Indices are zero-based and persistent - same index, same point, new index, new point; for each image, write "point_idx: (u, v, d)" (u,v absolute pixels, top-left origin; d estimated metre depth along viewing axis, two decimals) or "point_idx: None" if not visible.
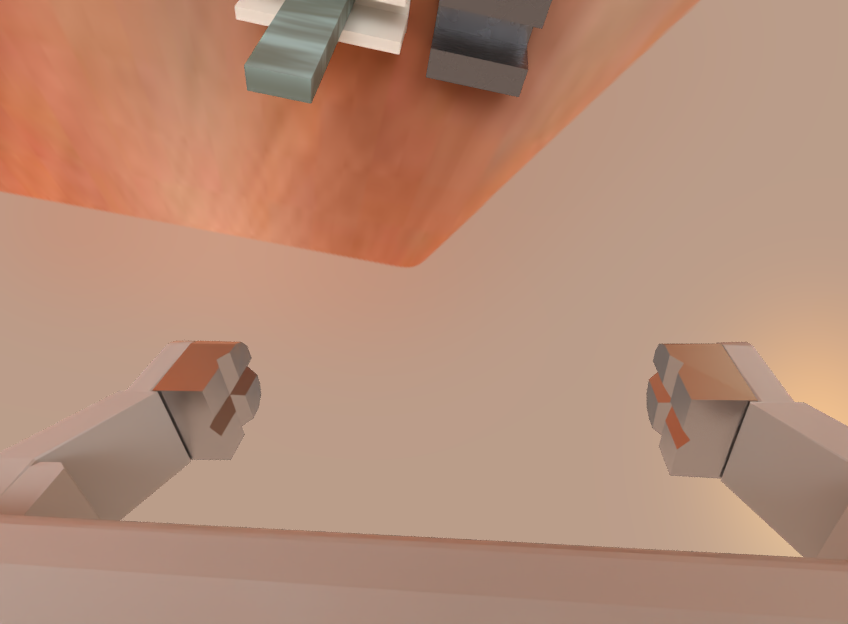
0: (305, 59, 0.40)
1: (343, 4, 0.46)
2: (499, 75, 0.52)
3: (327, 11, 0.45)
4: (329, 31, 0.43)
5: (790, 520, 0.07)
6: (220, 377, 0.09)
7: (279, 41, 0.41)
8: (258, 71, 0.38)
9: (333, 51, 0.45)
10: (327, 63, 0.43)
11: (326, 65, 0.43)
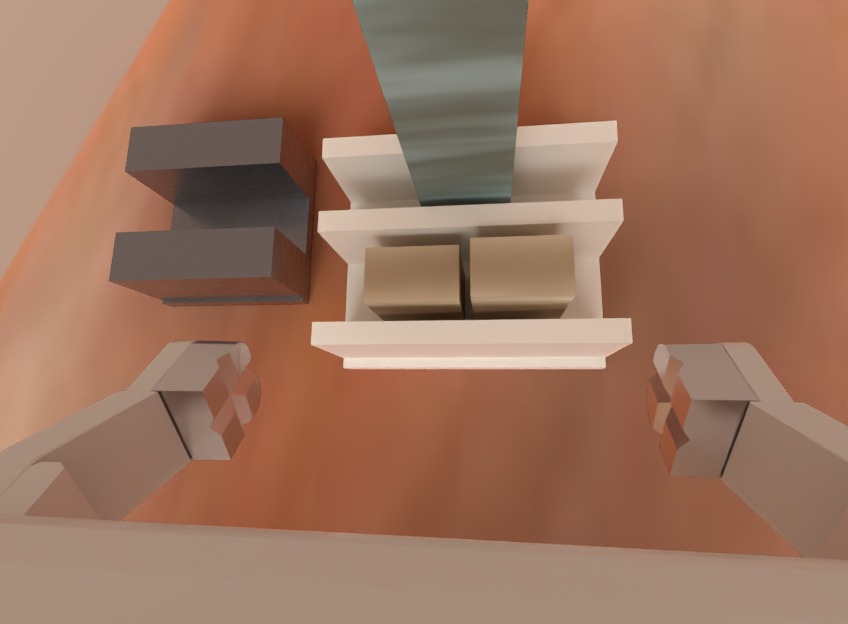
0: (398, 41, 0.16)
1: (417, 190, 0.26)
2: (167, 151, 0.31)
3: (433, 171, 0.24)
4: (401, 133, 0.21)
5: (790, 520, 0.07)
6: (220, 377, 0.09)
7: (480, 75, 0.18)
8: None
9: None
10: None
11: None
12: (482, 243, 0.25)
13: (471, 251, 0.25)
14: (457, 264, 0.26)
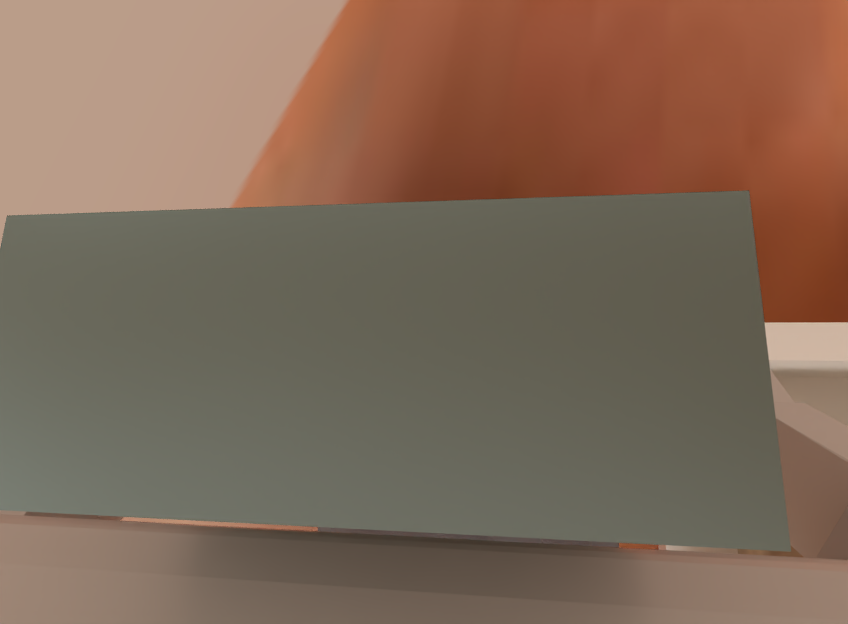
0: None
1: None
2: None
3: None
4: None
5: (790, 520, 0.07)
6: None
7: None
8: (585, 485, 0.03)
9: None
10: None
11: None
12: None
13: None
14: None
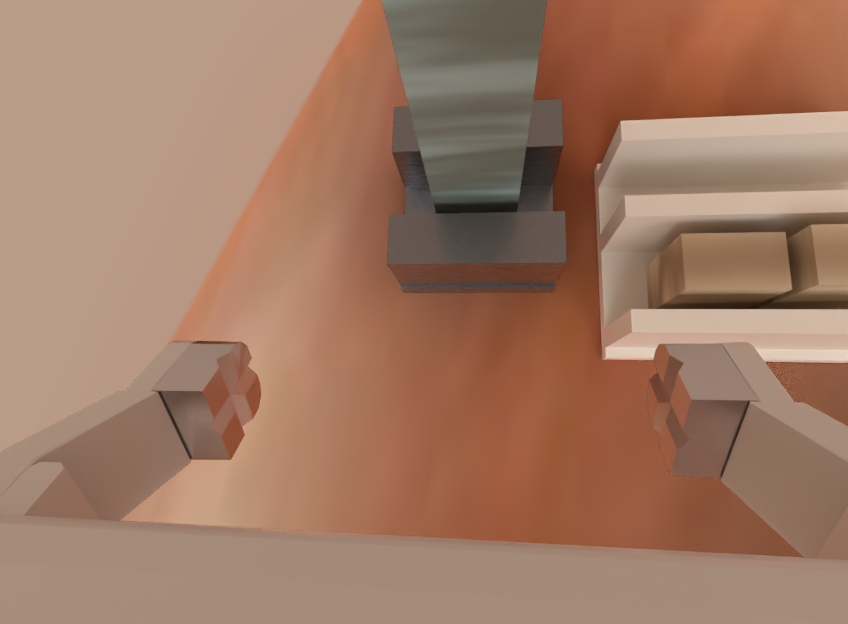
0: (423, 44, 0.17)
1: (430, 184, 0.28)
2: None
3: (446, 167, 0.26)
4: (419, 129, 0.22)
5: (790, 520, 0.07)
6: (220, 377, 0.09)
7: (497, 77, 0.19)
8: None
9: None
10: None
11: None
12: (825, 230, 0.24)
13: (814, 238, 0.24)
14: (786, 252, 0.25)
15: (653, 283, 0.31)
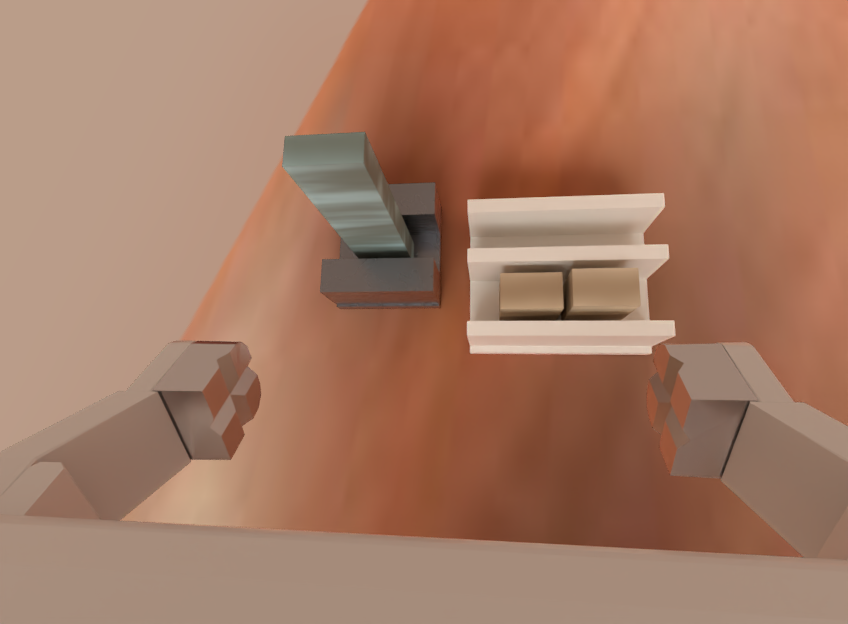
0: (313, 185, 0.33)
1: (345, 241, 0.43)
2: None
3: (351, 233, 0.41)
4: (327, 217, 0.38)
5: (790, 520, 0.07)
6: (220, 377, 0.09)
7: (359, 196, 0.34)
8: (346, 158, 0.30)
9: None
10: None
11: None
12: (580, 272, 0.40)
13: (573, 277, 0.40)
14: (561, 285, 0.41)
15: None
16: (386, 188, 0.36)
